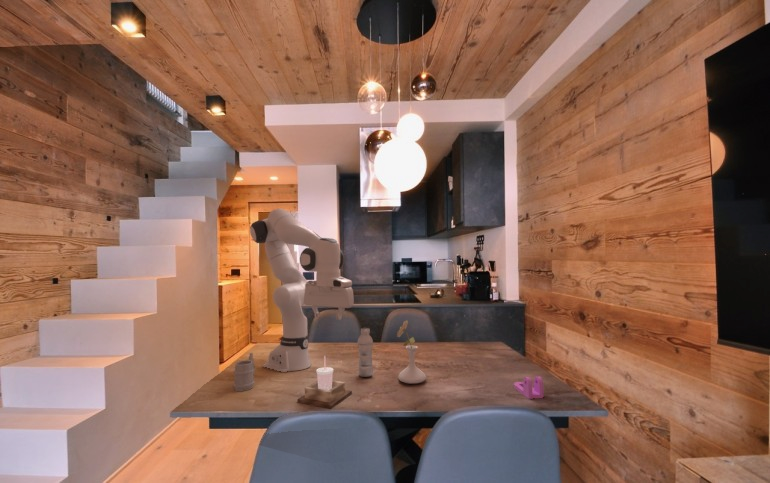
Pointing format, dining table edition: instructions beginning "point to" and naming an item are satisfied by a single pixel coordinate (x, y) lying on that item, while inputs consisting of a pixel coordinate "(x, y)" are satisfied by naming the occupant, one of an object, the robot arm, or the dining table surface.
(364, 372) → the plastic bottle
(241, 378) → the mug
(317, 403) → the socket stand
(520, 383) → the bracket
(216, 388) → the dining table surface
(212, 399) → the dining table surface
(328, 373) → the beverage cup
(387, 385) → the dining table surface
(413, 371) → the flower in vase
